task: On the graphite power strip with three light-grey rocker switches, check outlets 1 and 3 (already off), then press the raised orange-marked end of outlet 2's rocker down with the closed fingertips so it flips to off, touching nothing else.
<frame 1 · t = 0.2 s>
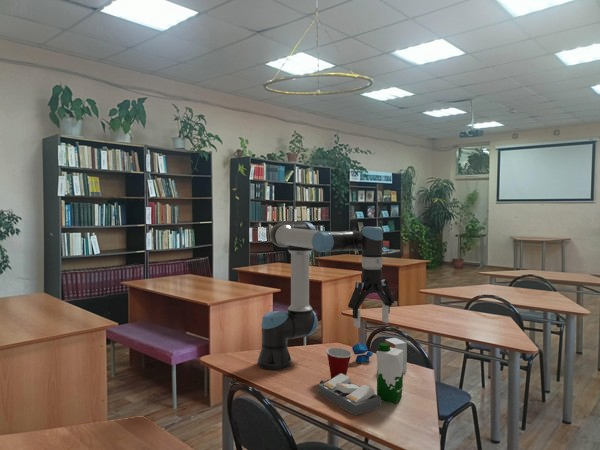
hand: (371, 324, 157), 27 cm above the table, tool pointing down, fingers open, 13 cm apart
rocker 1: (337, 382, 159), point 4 cm above the table, hinge at 15.0°
power strip: (348, 400, 154), on the table
small box: (395, 370, 185), on the table
milk carton: (389, 398, 156), on the table
plastic cup: (338, 380, 173), on the table
crystal: (361, 362, 195), on the table
rocker 2: (349, 388, 154), point 4 cm above the table, hinge at -15.0°
rocker 3: (360, 394, 149), point 4 cm above the table, hinge at 15.0°
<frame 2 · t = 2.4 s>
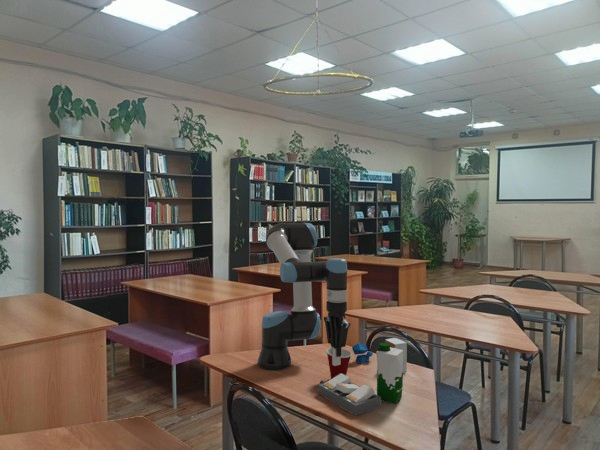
hand: (336, 364, 154), 13 cm above the table, tool pointing down, fingers closed
nothing on the table moved.
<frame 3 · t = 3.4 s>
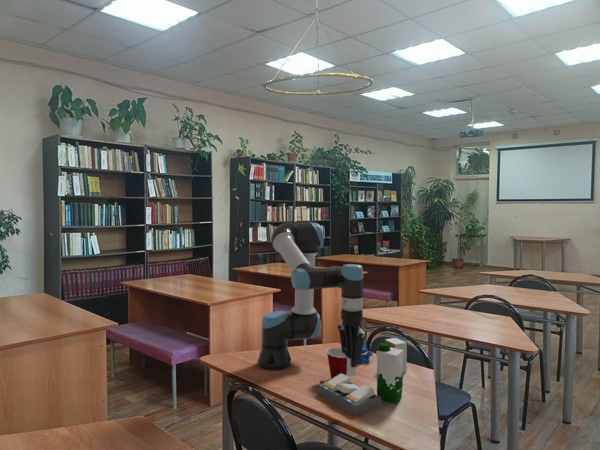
hand: (351, 375, 148), 12 cm above the table, tool pointing down, fingers closed
nothing on the table moved.
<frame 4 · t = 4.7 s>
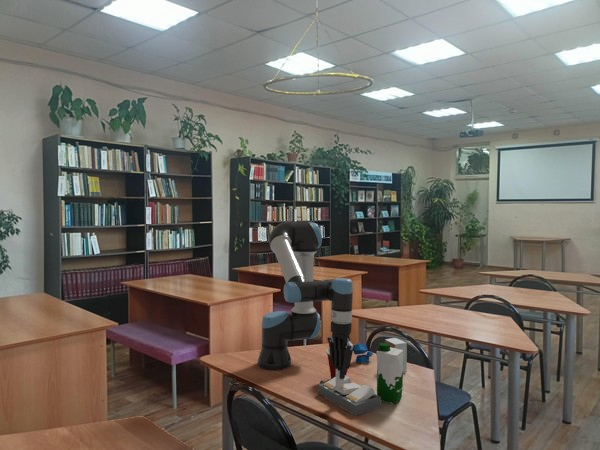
hand: (339, 386, 151), 6 cm above the table, tool pointing down, fingers closed
rocker 2: (349, 388, 154), point 4 cm above the table, hinge at -6.8°, touching gripper
everything else where it was.
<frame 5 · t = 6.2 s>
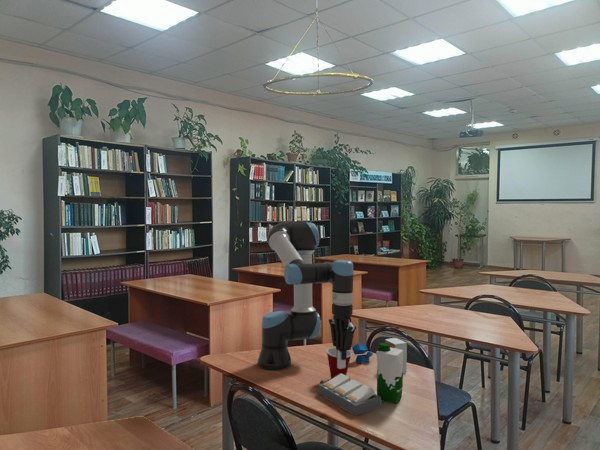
hand: (341, 367, 153), 13 cm above the table, tool pointing down, fingers closed
rocker 2: (348, 388, 154), point 4 cm above the table, hinge at 10.6°
everything else where it was.
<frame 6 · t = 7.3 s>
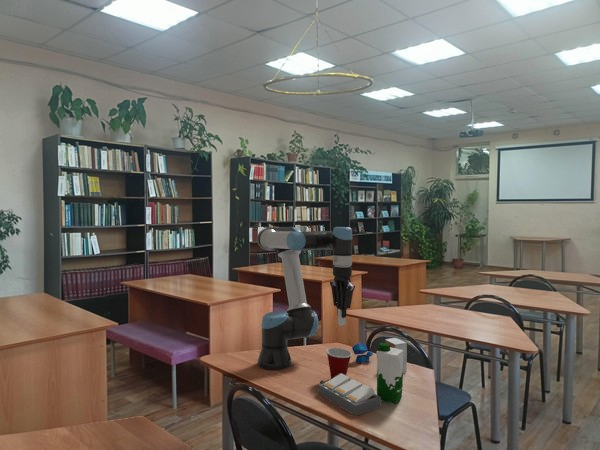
hand: (341, 325, 167), 24 cm above the table, tool pointing down, fingers closed
rocker 2: (348, 388, 154), point 4 cm above the table, hinge at 11.2°
everything else where it was.
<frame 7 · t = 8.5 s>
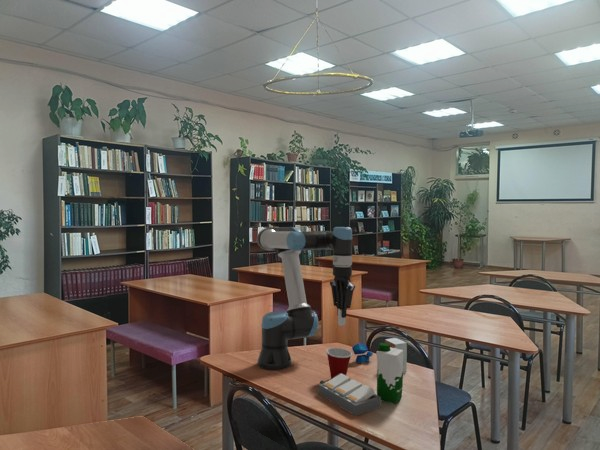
hand: (341, 325, 167), 24 cm above the table, tool pointing down, fingers closed
nothing on the table moved.
at the end: rocker 2 at +11° (first picture: -15°); rocker 1 at +15° (first picture: +15°); rocker 3 at +15° (first picture: +15°) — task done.
